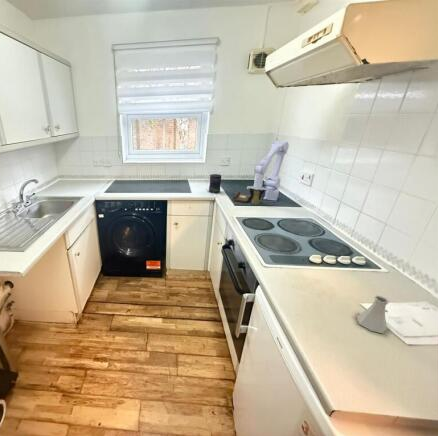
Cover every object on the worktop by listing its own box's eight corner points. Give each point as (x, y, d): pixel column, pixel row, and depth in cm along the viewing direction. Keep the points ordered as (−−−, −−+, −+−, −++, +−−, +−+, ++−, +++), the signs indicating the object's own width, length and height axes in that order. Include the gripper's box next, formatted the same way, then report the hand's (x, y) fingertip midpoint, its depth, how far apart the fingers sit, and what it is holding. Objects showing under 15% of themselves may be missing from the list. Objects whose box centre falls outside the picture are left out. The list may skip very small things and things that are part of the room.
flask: (386, 337, 70) (399, 311, 66) (355, 325, 75) (365, 300, 71) (386, 322, 75) (398, 298, 71) (356, 311, 80) (366, 287, 76)
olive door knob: (251, 204, 180) (253, 190, 176) (250, 201, 185) (252, 188, 181) (259, 204, 178) (262, 190, 174) (259, 202, 183) (261, 188, 179)
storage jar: (211, 189, 220) (212, 173, 214) (221, 191, 214) (223, 174, 209) (207, 192, 212) (208, 175, 207) (217, 193, 207) (219, 177, 201)
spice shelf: (250, 196, 197) (251, 192, 196) (246, 202, 183) (247, 198, 182) (238, 195, 202) (238, 190, 201) (233, 201, 188) (233, 196, 187)
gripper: (247, 181, 176) (244, 199, 181) (268, 183, 169) (265, 201, 174) (248, 179, 181) (246, 196, 186) (269, 181, 174) (266, 199, 179)
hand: (255, 199), depth 181 cm, fingers closed on olive door knob, 5 cm apart
